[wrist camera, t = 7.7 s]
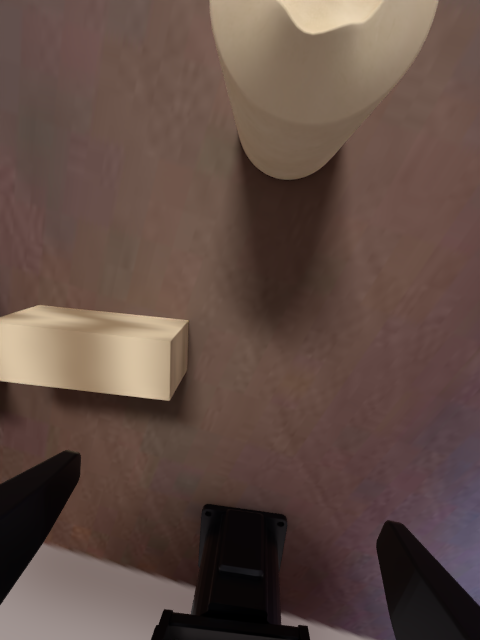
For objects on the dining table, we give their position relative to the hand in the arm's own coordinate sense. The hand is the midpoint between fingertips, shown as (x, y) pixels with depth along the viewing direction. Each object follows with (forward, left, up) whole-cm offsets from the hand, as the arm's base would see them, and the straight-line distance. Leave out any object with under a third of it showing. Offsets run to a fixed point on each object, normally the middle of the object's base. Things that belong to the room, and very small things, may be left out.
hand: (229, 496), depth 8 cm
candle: (+13, -1, -11) cm, 17 cm away
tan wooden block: (0, +9, -11) cm, 14 cm away
